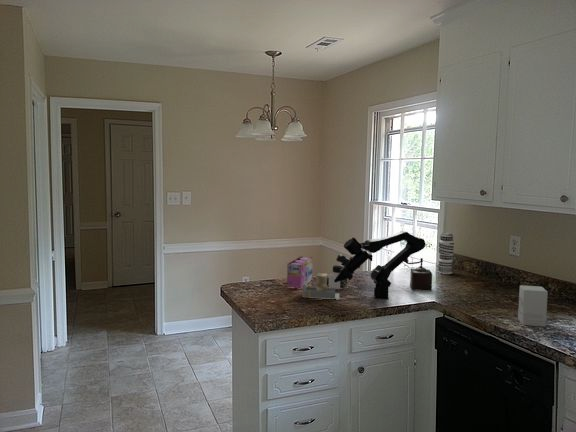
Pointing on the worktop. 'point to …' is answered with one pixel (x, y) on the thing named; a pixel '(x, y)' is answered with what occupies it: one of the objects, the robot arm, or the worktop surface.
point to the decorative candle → (445, 253)
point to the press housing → (319, 292)
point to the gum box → (299, 272)
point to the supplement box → (532, 305)
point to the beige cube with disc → (322, 282)
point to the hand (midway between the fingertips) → (334, 281)
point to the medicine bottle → (332, 277)
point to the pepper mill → (420, 277)
